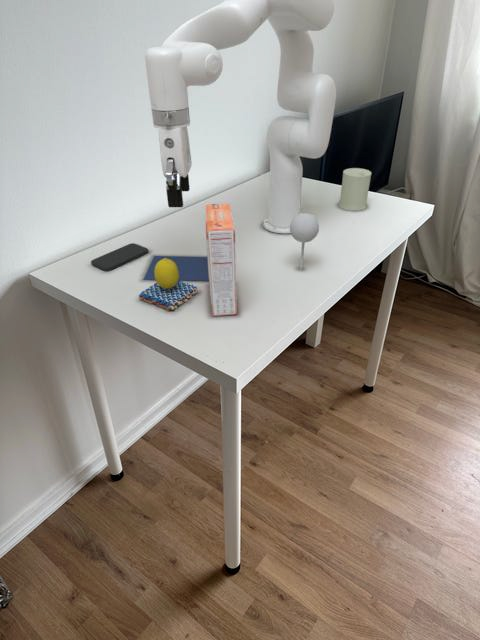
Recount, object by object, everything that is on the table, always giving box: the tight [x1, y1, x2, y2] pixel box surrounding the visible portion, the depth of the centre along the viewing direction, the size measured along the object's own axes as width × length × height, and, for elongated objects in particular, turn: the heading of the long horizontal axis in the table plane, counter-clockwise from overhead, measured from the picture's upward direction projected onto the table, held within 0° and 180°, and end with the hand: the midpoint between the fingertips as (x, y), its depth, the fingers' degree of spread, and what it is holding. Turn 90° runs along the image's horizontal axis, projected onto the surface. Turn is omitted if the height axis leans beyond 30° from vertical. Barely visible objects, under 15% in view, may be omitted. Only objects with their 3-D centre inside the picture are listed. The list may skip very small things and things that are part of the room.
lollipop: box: [290, 212, 320, 270], centre depth 113 cm, size 7×7×15 cm
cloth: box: [142, 255, 209, 282], centre depth 118 cm, size 18×13×1 cm
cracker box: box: [204, 203, 238, 317], centre depth 100 cm, size 14×6×21 cm, turn 5°
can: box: [338, 167, 372, 212], centre depth 151 cm, size 9×9×12 cm
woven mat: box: [138, 281, 198, 311], centre depth 106 cm, size 10×11×2 cm
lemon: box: [154, 258, 179, 289], centre depth 104 cm, size 6×6×8 cm
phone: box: [90, 243, 149, 272], centre depth 123 cm, size 7×1×15 cm
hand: (179, 198), depth 102 cm, fingers open, 9 cm apart
